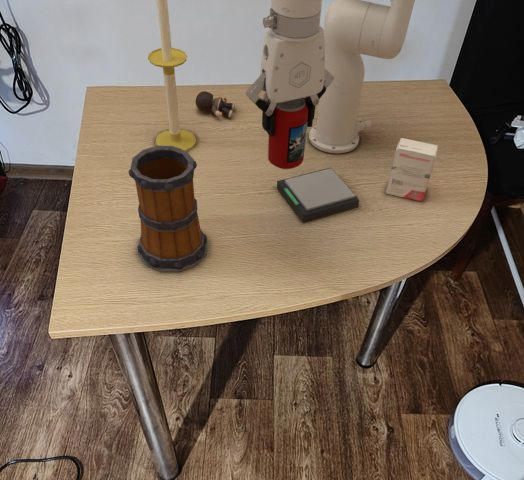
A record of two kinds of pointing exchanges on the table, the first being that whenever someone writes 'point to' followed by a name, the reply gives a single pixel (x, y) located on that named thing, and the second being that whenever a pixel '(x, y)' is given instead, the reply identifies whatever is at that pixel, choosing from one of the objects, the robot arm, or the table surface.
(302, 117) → the beverage can
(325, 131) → the robot arm
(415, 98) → the table surface
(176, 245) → the mug
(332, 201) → the scale
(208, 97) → the figurine
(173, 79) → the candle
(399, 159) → the ink box
